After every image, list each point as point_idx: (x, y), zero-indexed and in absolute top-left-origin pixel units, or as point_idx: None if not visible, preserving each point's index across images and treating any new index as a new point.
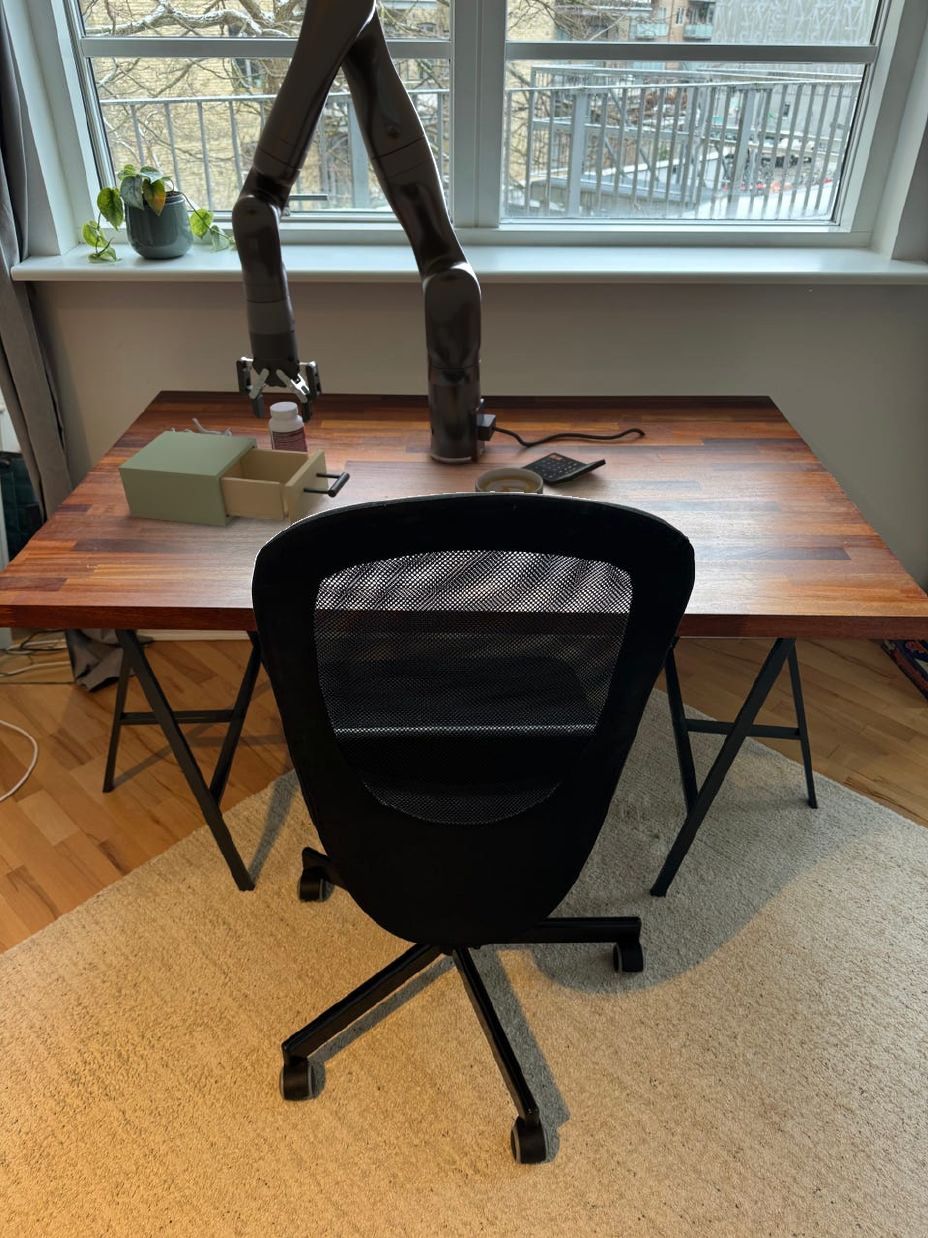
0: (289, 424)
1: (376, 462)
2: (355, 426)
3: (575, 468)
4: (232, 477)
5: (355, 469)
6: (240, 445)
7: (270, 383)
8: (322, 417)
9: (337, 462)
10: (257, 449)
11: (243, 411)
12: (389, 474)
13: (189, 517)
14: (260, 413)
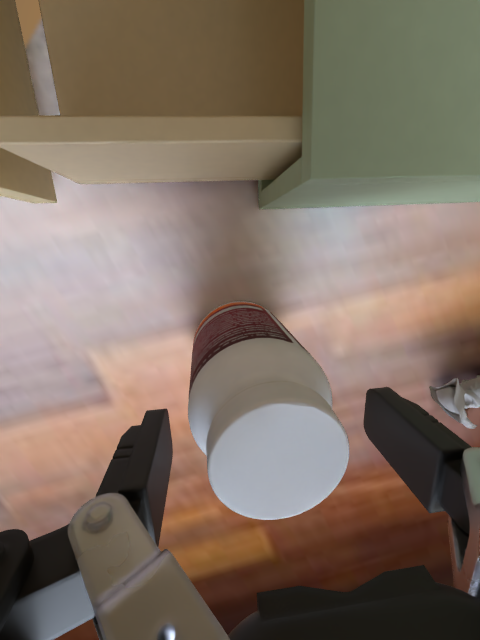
0: (219, 375)
1: (28, 415)
2: (188, 554)
3: None
4: None
5: (59, 364)
6: (353, 46)
7: (425, 606)
8: (280, 565)
9: (131, 388)
10: (270, 123)
11: None
12: None
13: None
14: (381, 405)
